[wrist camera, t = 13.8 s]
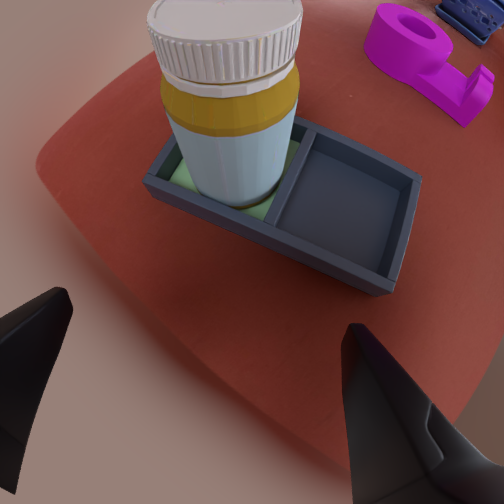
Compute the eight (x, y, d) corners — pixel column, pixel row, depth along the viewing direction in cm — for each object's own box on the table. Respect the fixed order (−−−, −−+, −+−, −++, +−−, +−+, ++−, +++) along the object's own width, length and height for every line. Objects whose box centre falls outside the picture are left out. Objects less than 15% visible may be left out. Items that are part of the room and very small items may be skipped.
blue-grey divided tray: (375, 297, 21) (392, 293, 18) (152, 197, 23) (141, 181, 20) (406, 190, 23) (422, 176, 21) (210, 108, 25) (206, 86, 22)
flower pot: (483, 55, 31) (511, 16, 19) (425, 12, 33) (445, -32, 21) (491, 41, 33) (513, 8, 21) (442, 4, 35) (459, -32, 23)
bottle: (197, 136, 24) (158, -19, 9) (280, 136, 24) (303, -24, 9) (189, 212, 22) (112, 61, 7) (282, 213, 22) (327, 52, 7)
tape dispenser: (351, 53, 28) (364, 14, 21) (379, 29, 29) (391, -3, 23) (463, 131, 25) (491, 102, 19) (473, 95, 27) (495, 68, 21)
